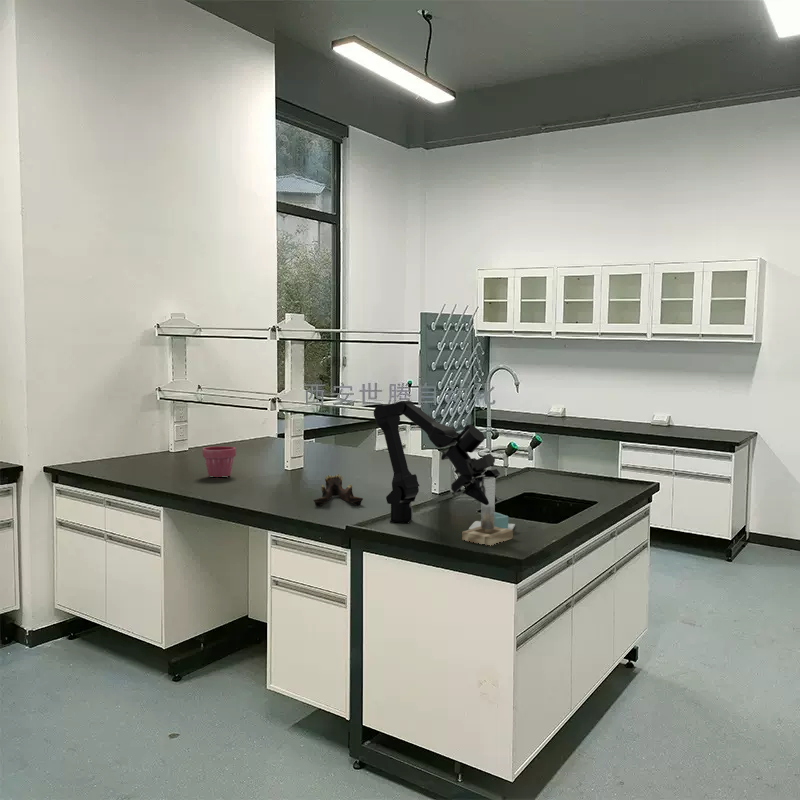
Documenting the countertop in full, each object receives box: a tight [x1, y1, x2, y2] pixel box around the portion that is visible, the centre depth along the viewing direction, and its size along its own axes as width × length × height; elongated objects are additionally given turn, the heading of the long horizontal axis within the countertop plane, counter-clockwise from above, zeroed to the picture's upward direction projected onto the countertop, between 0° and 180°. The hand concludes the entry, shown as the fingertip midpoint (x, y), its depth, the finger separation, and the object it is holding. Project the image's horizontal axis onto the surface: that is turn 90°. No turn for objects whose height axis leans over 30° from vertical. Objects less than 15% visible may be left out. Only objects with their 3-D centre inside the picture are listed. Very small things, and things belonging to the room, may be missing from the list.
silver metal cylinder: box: [480, 477, 496, 529], centre depth 218 cm, size 4×4×15 cm
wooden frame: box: [461, 526, 514, 547], centre depth 219 cm, size 10×12×2 cm
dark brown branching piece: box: [312, 473, 364, 507], centre depth 273 cm, size 17×25×10 cm
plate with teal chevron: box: [468, 511, 516, 531], centre depth 232 cm, size 13×11×4 cm
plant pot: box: [202, 445, 237, 477], centre depth 321 cm, size 14×14×13 cm
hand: (491, 503), depth 217 cm, fingers closed on silver metal cylinder, 4 cm apart
